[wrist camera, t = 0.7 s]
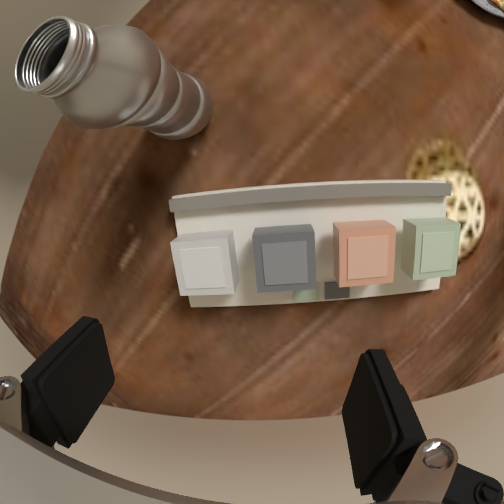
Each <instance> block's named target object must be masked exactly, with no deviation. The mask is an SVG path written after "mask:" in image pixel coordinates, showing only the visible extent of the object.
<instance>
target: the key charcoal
mask: <svg viewBox="0 0 504 504" xmlns="http://www.w3.org/2000/svg"><path fill="white" fill-rule="evenodd" d="M252 242H253V251H254V261H255V271H256V281H257V291H258V293H265V292H282V291H298V290H313V289H316V255H315V231H314V229H313V227H312V225H311V224H300V225H286V226H272V227H258V228H255V229H254V232H253V234H252Z"/></svg>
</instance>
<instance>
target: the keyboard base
mask: <svg viewBox="0 0 504 504" xmlns="http://www.w3.org/2000/svg"><path fill="white" fill-rule="evenodd" d="M446 196H451V184H449V183H446V181H443V180H356V181H330V182H311V183H295V184H281V185H268V186H256V187H245V188H235V189H225V190H216V191H207V192H199V193H190V194H183V195H175V196H172V199H170V200H169V207H170V212H174V215H175V222H176V229H177V235H178V236H179V235H181V234H186V233H197V232H208V231H220V230H232V229H233V233H234V241H235V250H236V258H237V266H238V274H239V283H238V286H237V289H236V291H235V294H222V295H192V296H189V301H190V306H191V307H222V306H250V305H271V304H288V303H304V302H318V301H331V300H343V299H354V298H365V297H375V296H384V295H393V294H402V293H410V292H418V291H426V290H434V289H439V284H440V277H438V278H430V279H422V280H413V281H412V280H411V278H410V277H409V276H408V275H407V274H406V273H405V272H404V271H403V270H402V269H401V260H402V242H403V219H411V218H438V217H446ZM368 220H386V221H387V222H389V223H390V224H392V225H394V226H395V227H396V241H395V262H394V277H393V283H384V284H373V285H363V286H351V287H339V286H338V283H337V281H336V279H335V276H334V252H333V222H350V221H368ZM300 224H311V225H312V227H313V229H314V231H315V255H316V289H313V290H298V291H282V292H265V293H258V291H257V281H256V271H255V261H254V251H253V242H252V234H253V232H254V229H255V228H258V227H272V226H286V225H300Z"/></svg>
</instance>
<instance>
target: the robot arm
mask: <svg viewBox="0 0 504 504" xmlns="http://www.w3.org/2000/svg"><path fill="white" fill-rule="evenodd" d="M21 378H22V380H23V381H22V383H20V382H19V381H18V379H16V378H15V377H12V376H4V377H0V504H229V503H221V502H215V501H208V500H203V499H198V498H192V497H188V496H183V495H178V494H174V493H170V492H166V491H162V490H158V489H155V488H151V487H148V486H144V485H141V484H137V483H134V482H131V481H128V480H125V479H123V478H119V477H117V476H114V475H111V474H109V473H106V472H103V471H101V470H98V469H96V468H94V467H91V466H89V465H86V464H84V463H82V462H79V461H77V460H75V459H73V458H71V457H69V456H67V455H65V454H63V453H61V452H59V451H57V450H55V448H54V444H55V442H56V441H57V443H58V444H60V445H62V446H64V447H66V448H70V446H71V444H72V443H75V442H77V440H78V439H79V437H80V435H81V434H82V432H83V431H84V429H85V428H86V426H87V425H88V423H89V421H90V420H91V418H92V417H93V415H94V414H95V412H96V411H97V409H98V408H99V406H100V405H101V403H102V401H103V400H104V398H105V397H106V395H107V394H108V392H109V391H110V389H111V388H112V386H113V385H114V381H115V377H114V373H113V369H112V365H111V361H110V357H109V353H108V349H107V345H106V340H105V336H104V331H103V327H102V325H101V324H100V323H99V321H98V320H97V319H95V318H91V317H87V316H83V317H82V318H80V319H79V320H78V321H77V322H76V323H75V324H74V325H73V326H72V327H71V328H69V329H68V330H67V331H66V332H65V333H64V334H63V335H62V336H61V337H60V338H59V339H58V340H57V341H55V342H54V343H53V344H52V345H51V346H50V347H49V348H48V349H47V350H46V351H45V352H44V353H43V354H42V355H41V356H40V357H39V358H38V359H37V360H36V361H35V362H34V363H33V364H32V365H31V366H30V367H29V368H28V369H27V370H26V371H25V372H24V373H23V374H22V375H21ZM342 416H343V421H344V426H345V432H346V437H347V442H348V448H349V454H350V460H351V465H352V471H353V478H354V483H355V487H356V488H360V493H361V495H369V494H372V497H373V500H375V501H374V502H373V503H370V504H504V498H503V496H504V493H503V488H502V486H501V484H500V483H499V482H498V481H497V480H496V479H494V478H492V477H489V476H487V475H484V474H482V473H479V472H477V471H474V470H472V469H470V468H468V467H465V466H463V465H461V464H459V463H457V462H458V454H457V451H456V449H455V447H454V446H452V444H451V443H449V442H447V441H445V440H443V439H439V438H438V439H437V438H435V439H429V440H427V438H426V436H425V433H424V431H423V429H422V426H421V424H420V422H419V419H418V417H417V415H416V412H415V410H414V408H413V406H412V403H411V401H410V399H409V397H408V395H407V392H406V390H405V388H404V387H403V385H401V384H400V383H399V380H398V378H397V376H396V374H395V372H394V370H393V368H392V366H391V363H390V361H389V359H388V357H387V355H386V353H385V351H384V350H383V349H368V350H367V351H366V352H365V353H362V354H361V355H360V358H359V361H358V364H357V368H356V371H355V374H354V376H353V379H352V382H351V385H350V388H349V391H348V394H347V396H346V399H345V402H344V404H343V408H342Z"/></svg>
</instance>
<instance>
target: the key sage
mask: <svg viewBox="0 0 504 504" xmlns="http://www.w3.org/2000/svg"><path fill="white" fill-rule="evenodd" d="M460 226H461V224H460V223H458V222H455V221H453V220H451V219H448V218H446V217H438V218H411V219H403V242H402V260H401V269H402V270H403V271H404V272H405V273H406V274H407V275H408V276H409V277H410V278H411V280H412V281H413V280H422V279H430V278H438V277H447V276H454V275H456V267H457V259H458V250H459V239H460Z"/></svg>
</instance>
